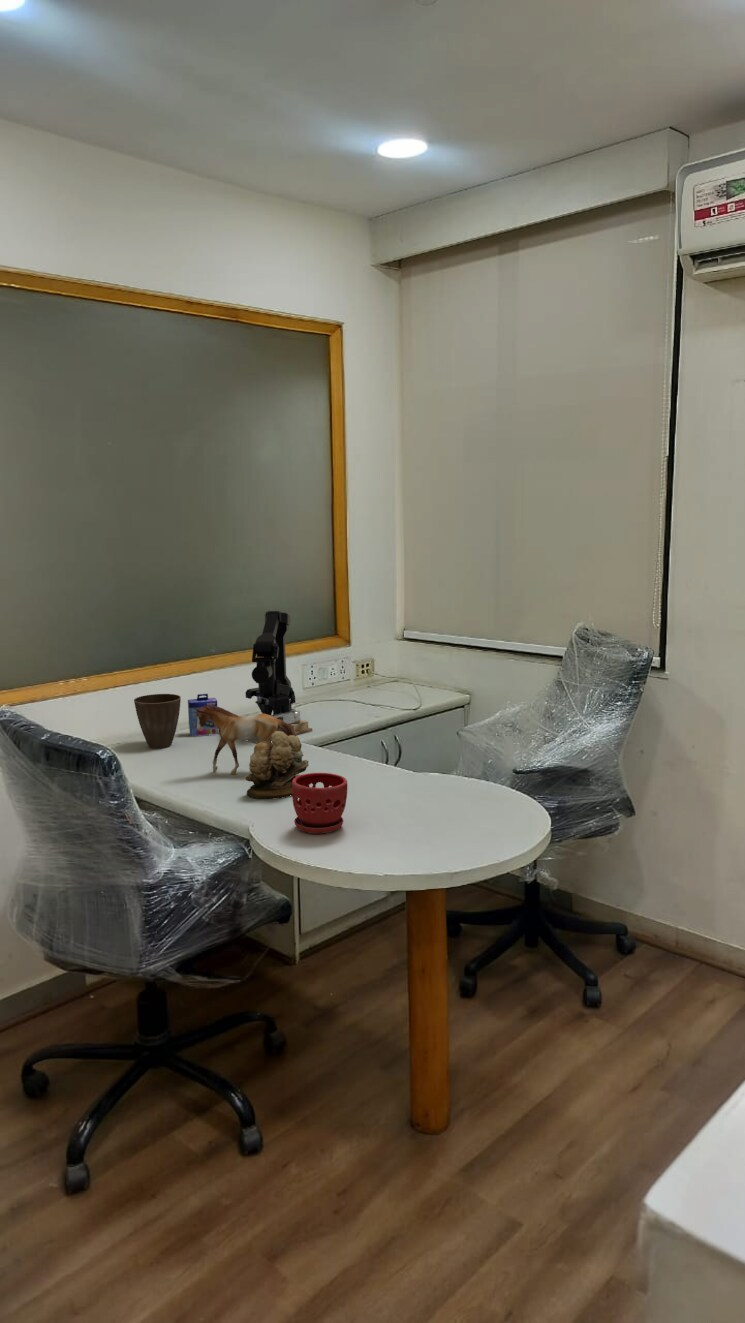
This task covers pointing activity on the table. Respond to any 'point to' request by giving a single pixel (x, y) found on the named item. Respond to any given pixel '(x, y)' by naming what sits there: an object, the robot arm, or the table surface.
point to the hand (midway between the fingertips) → (268, 721)
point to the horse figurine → (239, 728)
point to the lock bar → (289, 716)
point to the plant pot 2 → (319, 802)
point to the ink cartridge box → (196, 703)
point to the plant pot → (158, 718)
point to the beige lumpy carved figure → (275, 767)
